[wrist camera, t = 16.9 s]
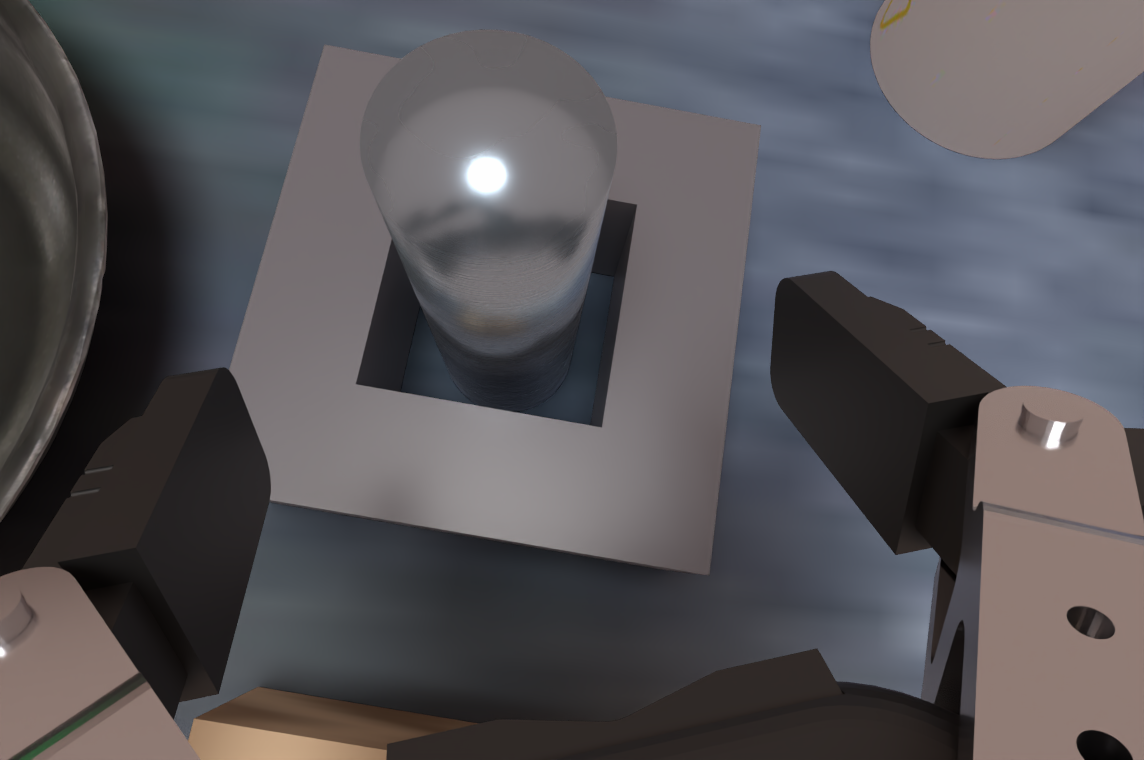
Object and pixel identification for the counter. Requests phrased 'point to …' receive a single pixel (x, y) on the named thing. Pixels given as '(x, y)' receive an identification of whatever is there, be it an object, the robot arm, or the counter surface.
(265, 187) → the counter surface
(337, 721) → the square frame block
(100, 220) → the frying pan
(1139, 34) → the cup
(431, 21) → the counter surface
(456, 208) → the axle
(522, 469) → the holder block
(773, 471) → the counter surface
